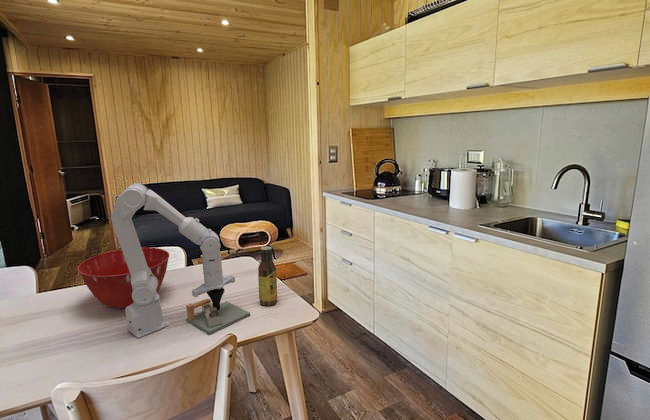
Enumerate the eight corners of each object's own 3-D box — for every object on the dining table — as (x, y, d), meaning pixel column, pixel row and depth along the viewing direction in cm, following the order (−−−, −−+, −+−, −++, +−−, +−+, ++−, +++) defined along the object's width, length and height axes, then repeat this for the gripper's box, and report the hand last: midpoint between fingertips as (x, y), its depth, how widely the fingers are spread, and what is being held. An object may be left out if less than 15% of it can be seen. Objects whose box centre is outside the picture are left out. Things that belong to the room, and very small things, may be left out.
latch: (223, 323, 114) (222, 315, 113) (208, 327, 111) (208, 319, 111) (213, 307, 123) (212, 300, 123) (199, 311, 121) (199, 304, 121)
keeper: (190, 320, 116) (189, 306, 115) (187, 318, 117) (186, 305, 116) (211, 311, 121) (210, 298, 120) (208, 309, 123) (207, 296, 122)
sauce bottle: (274, 307, 126) (271, 251, 121) (256, 306, 127) (253, 250, 123) (280, 298, 132) (277, 245, 128) (263, 297, 133) (260, 244, 129)
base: (209, 335, 109) (207, 317, 108) (186, 320, 118) (184, 304, 116) (250, 315, 120) (249, 299, 119) (226, 303, 129) (225, 288, 127)
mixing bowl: (187, 284, 145) (183, 247, 142) (146, 321, 118) (140, 276, 114) (119, 282, 148) (114, 246, 145) (63, 318, 120) (55, 274, 117)
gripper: (198, 280, 109) (203, 322, 112) (239, 266, 120) (242, 304, 123) (186, 275, 114) (191, 315, 117) (226, 261, 125) (229, 298, 128)
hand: (216, 309), depth 120 cm, fingers closed, pressing on latch
